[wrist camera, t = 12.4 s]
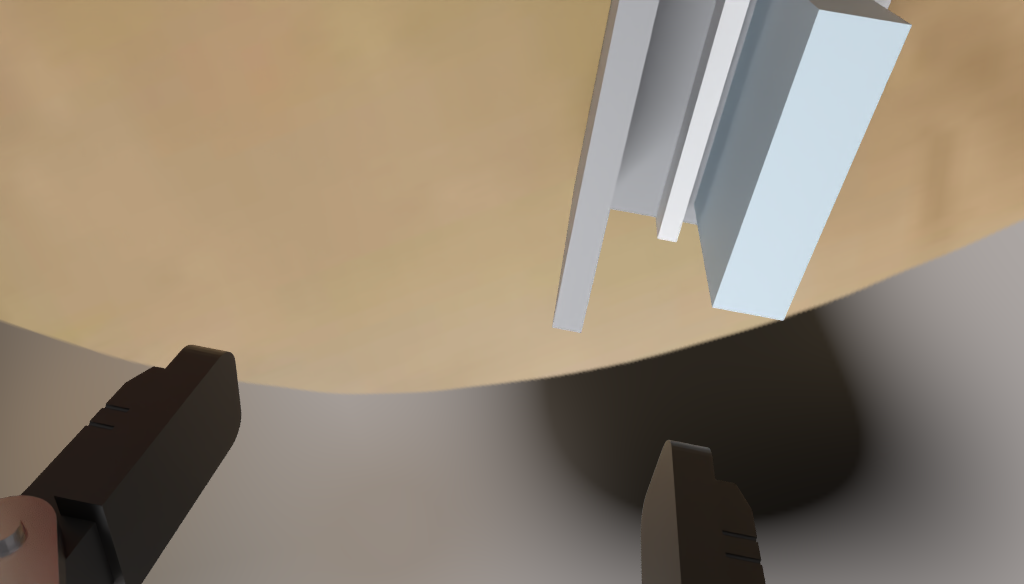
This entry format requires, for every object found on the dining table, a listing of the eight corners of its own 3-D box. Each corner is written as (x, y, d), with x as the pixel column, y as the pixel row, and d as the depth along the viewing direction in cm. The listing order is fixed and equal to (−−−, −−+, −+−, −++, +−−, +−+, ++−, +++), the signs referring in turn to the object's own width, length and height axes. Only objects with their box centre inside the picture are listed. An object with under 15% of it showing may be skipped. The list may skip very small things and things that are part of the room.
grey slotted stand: (633, -109, 32) (636, -82, 20) (896, -67, 31) (1054, -13, 20) (574, 186, 40) (552, 327, 29) (781, 224, 40) (844, 383, 28)
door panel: (768, -36, 31) (819, 9, 23) (835, -25, 31) (911, 24, 23) (693, 204, 38) (712, 307, 29) (748, 214, 38) (783, 320, 29)
